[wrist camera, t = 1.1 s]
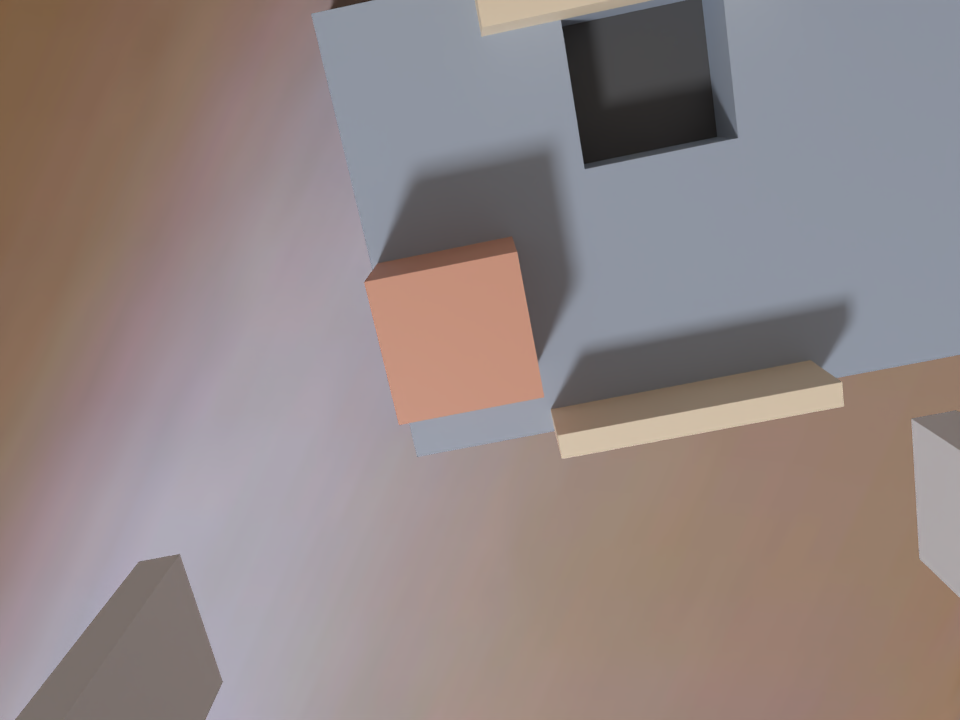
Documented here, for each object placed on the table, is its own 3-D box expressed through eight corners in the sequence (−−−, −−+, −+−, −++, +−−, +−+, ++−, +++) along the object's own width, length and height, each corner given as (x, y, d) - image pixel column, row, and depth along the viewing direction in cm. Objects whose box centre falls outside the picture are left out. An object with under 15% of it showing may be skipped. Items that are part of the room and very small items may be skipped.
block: (377, 263, 32) (364, 281, 29) (512, 236, 32) (517, 251, 28) (407, 390, 34) (398, 424, 30) (536, 366, 34) (544, 397, 30)
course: (325, 23, 33) (293, 1, 27) (931, -108, 31) (1033, -160, 26) (421, 431, 38) (412, 486, 32) (947, 331, 36) (1036, 370, 31)
